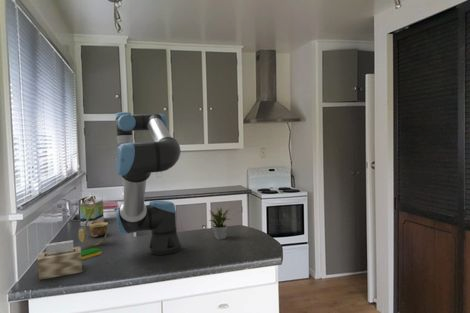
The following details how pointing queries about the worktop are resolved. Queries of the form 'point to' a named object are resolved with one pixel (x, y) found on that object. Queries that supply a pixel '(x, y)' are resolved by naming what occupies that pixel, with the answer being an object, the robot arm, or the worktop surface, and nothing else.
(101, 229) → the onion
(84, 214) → the tea box
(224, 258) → the worktop surface
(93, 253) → the dish sponge
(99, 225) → the wall sconce
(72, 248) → the grey flat block
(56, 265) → the camouflage slotted box
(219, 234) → the house plant
